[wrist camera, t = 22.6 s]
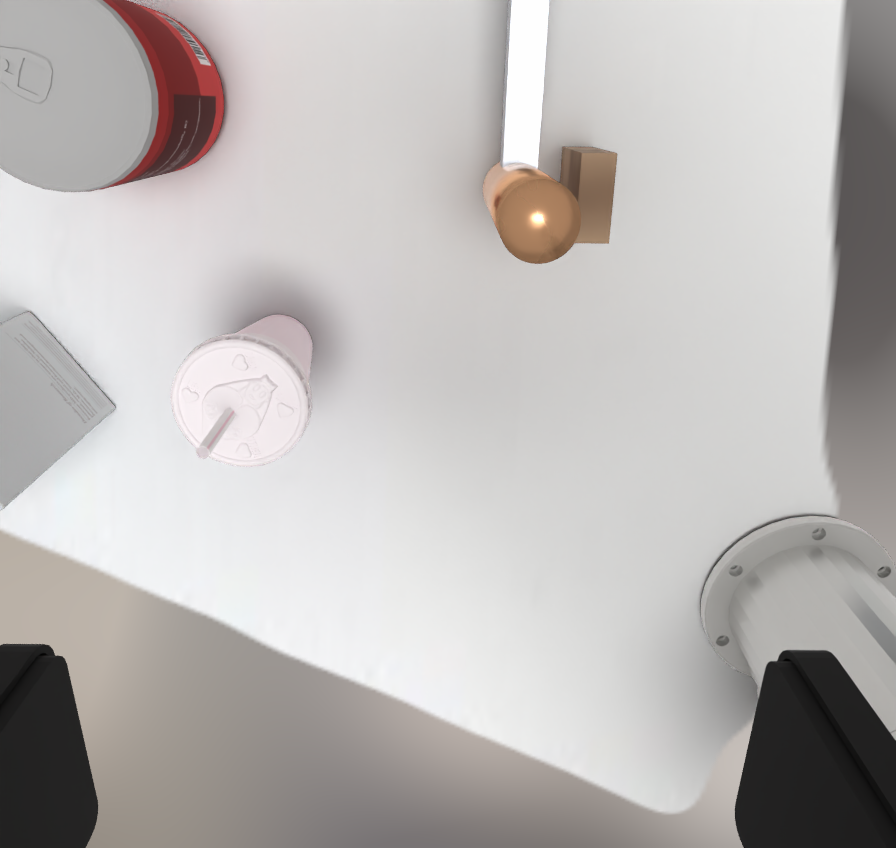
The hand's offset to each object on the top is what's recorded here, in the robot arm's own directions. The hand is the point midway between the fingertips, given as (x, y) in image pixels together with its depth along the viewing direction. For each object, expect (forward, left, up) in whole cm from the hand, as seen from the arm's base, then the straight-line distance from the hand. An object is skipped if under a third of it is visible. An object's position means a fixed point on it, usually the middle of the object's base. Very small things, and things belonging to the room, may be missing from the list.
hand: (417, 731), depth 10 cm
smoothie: (-5, +9, -34) cm, 36 cm away
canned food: (+8, +15, -34) cm, 38 cm away
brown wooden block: (+4, -7, -34) cm, 35 cm away
